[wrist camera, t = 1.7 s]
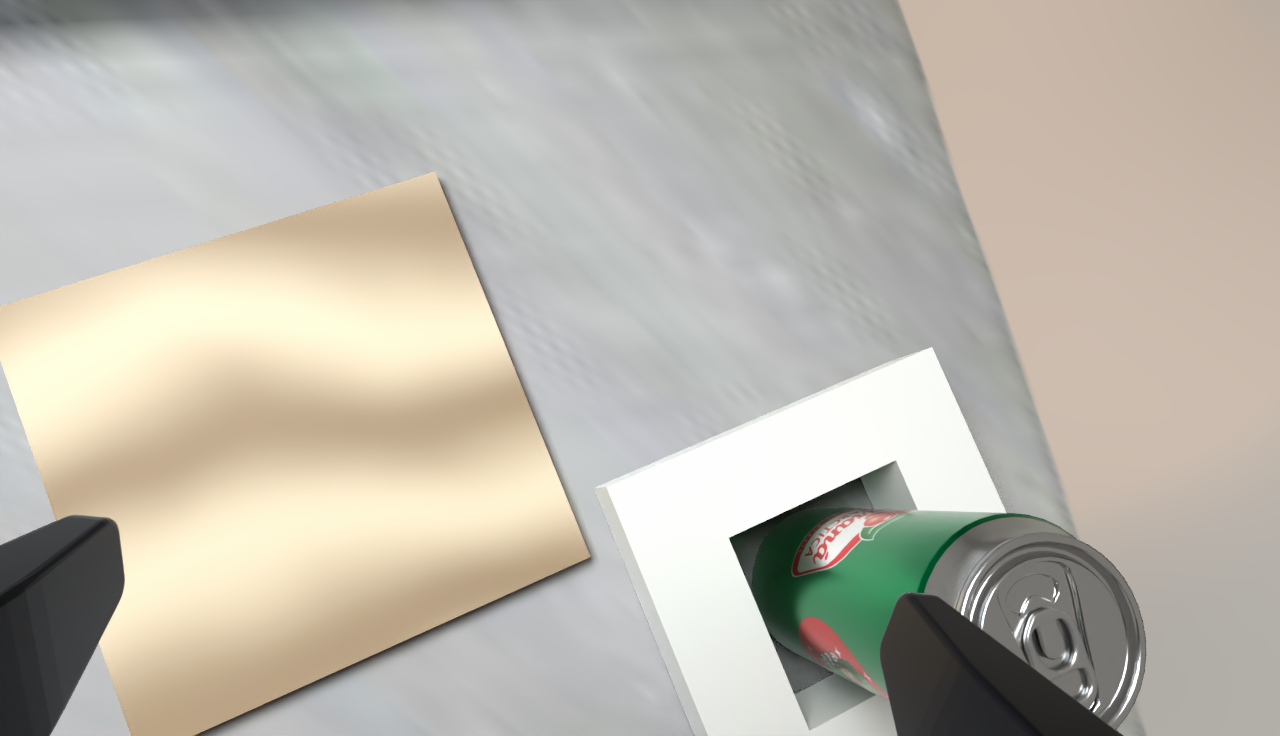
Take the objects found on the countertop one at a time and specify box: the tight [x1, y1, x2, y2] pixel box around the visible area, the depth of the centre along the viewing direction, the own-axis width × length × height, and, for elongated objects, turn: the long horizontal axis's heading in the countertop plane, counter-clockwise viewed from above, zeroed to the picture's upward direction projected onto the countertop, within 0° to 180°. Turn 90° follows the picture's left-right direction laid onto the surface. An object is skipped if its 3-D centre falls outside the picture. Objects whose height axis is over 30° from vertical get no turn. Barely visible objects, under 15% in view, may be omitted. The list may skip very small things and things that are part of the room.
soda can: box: [752, 507, 1146, 730], centre depth 22 cm, size 5×5×12 cm
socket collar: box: [594, 347, 1006, 736], centre depth 26 cm, size 12×12×3 cm
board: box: [0, 172, 590, 736], centre depth 25 cm, size 14×14×1 cm
